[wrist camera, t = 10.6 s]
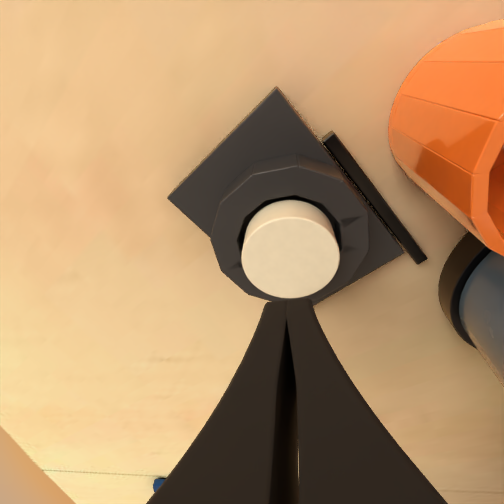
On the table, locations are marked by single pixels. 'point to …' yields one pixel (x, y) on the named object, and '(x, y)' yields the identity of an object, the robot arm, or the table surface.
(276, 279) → the button
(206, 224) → the button block
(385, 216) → the dispenser
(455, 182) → the cup
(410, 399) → the table surface
